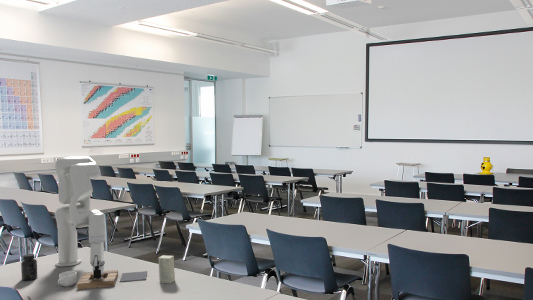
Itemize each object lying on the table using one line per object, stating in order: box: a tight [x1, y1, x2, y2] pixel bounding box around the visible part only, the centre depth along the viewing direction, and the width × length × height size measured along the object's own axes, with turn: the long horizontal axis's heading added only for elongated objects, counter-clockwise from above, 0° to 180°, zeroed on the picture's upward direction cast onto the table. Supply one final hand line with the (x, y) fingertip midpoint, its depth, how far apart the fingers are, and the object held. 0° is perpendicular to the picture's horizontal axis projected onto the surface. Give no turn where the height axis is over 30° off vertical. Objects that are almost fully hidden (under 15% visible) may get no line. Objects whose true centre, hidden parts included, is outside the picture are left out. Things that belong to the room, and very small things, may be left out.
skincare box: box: [158, 254, 176, 284], centre depth 203 cm, size 6×4×12 cm
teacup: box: [57, 270, 78, 287], centre depth 200 cm, size 10×8×5 cm
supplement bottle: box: [20, 253, 38, 282], centre depth 209 cm, size 7×7×12 cm
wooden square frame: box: [76, 269, 119, 290], centre depth 204 cm, size 16×16×3 cm
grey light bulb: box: [90, 260, 106, 280], centre depth 204 cm, size 6×6×10 cm
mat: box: [119, 270, 148, 283], centre depth 211 cm, size 12×12×1 cm
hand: (98, 275), depth 204 cm, fingers closed on grey light bulb, 5 cm apart
